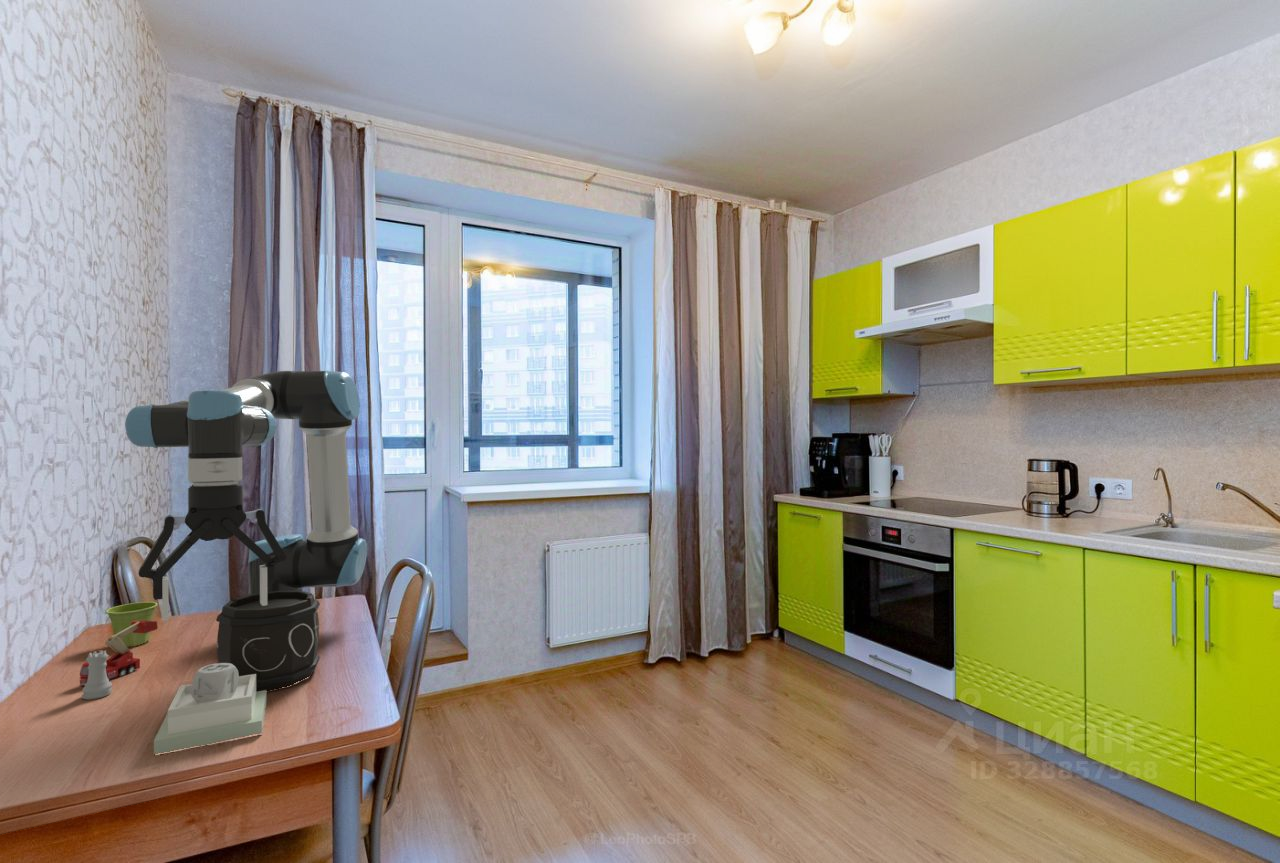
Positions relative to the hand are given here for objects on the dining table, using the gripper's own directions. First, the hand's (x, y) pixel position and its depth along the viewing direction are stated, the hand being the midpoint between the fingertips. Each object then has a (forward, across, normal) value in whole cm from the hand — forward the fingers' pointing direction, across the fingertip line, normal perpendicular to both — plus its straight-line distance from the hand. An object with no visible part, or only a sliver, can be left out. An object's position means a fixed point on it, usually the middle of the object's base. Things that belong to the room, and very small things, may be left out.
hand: (216, 611), depth 105 cm
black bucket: (+20, +11, +19) cm, 29 cm away
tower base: (+20, 0, 0) cm, 20 cm away
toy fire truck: (+20, -13, +41) cm, 47 cm away
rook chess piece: (+20, -16, +30) cm, 39 cm away
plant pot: (+20, -11, +64) cm, 68 cm away
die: (+14, 0, 0) cm, 14 cm away
